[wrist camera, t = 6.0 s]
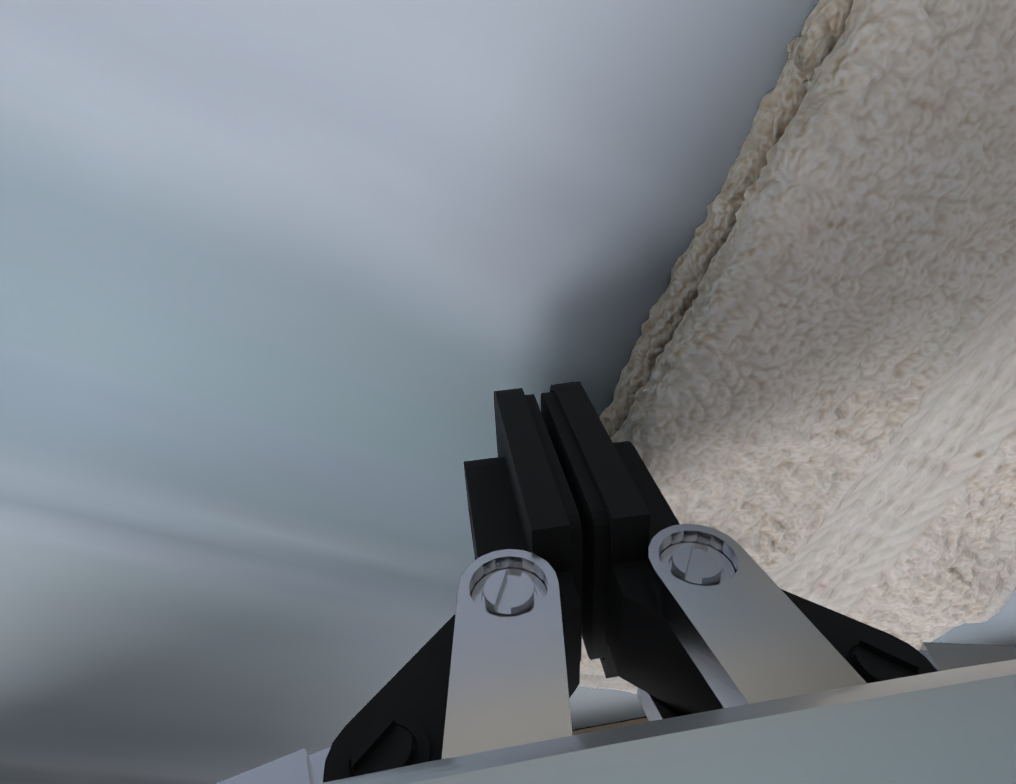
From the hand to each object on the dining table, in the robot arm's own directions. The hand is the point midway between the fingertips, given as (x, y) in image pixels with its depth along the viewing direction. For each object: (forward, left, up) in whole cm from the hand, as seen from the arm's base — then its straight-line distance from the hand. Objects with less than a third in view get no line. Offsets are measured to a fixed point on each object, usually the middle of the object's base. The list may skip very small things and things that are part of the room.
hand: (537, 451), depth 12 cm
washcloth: (+1, +7, -2) cm, 8 cm away
